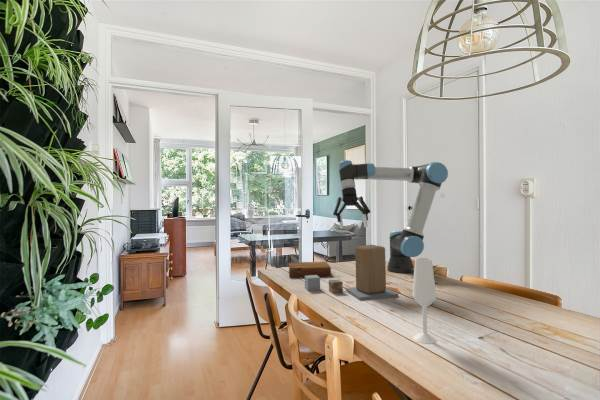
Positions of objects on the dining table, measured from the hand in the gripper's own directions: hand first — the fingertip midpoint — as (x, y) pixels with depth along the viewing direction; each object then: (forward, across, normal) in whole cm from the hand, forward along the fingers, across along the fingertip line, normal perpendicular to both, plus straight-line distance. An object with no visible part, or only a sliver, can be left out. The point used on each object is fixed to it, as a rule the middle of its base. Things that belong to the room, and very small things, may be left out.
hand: (354, 227), depth 180 cm
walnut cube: (+31, +17, +9) cm, 37 cm away
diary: (+21, +19, -31) cm, 42 cm away
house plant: (+39, -12, +36) cm, 55 cm away
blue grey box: (+29, +26, +2) cm, 39 cm away
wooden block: (+32, +4, +17) cm, 37 cm away
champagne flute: (+47, +10, +66) cm, 82 cm away
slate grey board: (+34, +3, +17) cm, 38 cm away
